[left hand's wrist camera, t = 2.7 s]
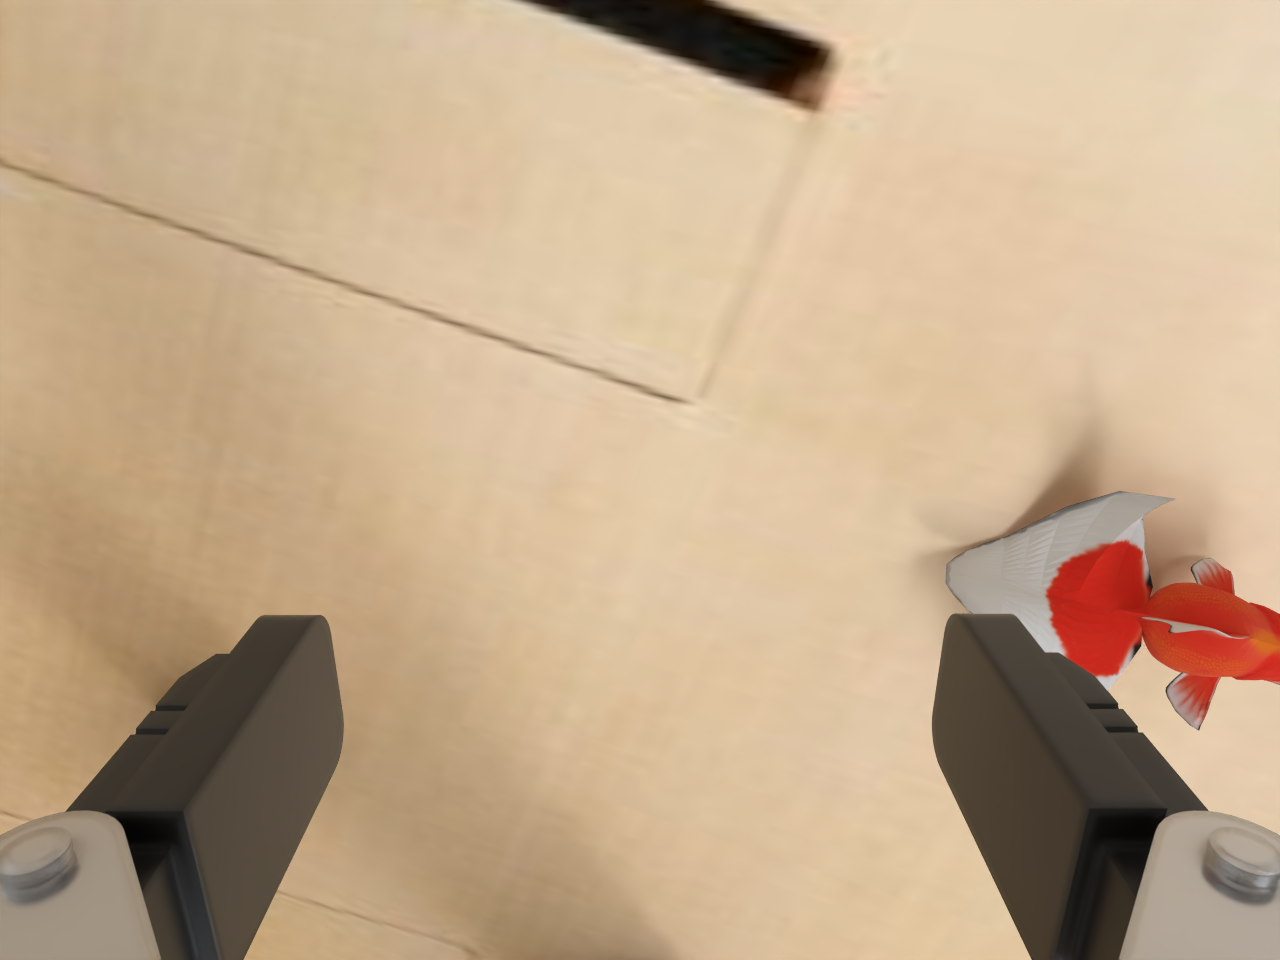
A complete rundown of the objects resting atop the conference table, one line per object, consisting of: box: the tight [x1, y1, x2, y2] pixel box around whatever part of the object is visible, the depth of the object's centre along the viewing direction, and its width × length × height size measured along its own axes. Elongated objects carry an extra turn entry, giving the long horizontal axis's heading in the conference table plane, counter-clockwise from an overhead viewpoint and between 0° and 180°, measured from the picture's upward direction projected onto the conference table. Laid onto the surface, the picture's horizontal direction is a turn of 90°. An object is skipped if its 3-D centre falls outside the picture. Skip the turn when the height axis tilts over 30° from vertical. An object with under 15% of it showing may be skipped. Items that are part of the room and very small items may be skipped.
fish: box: [946, 491, 1280, 730], centre depth 40 cm, size 11×16×10 cm
